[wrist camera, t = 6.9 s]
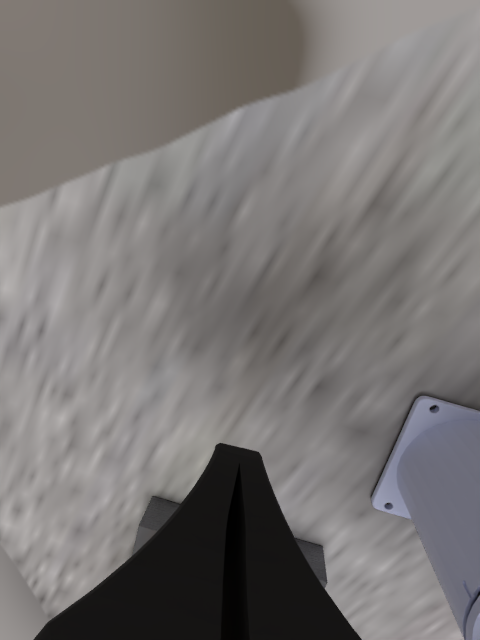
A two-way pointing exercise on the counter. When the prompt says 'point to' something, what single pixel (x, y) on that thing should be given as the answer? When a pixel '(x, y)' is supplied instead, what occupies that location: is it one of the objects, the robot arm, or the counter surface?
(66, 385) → the counter surface
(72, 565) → the counter surface
